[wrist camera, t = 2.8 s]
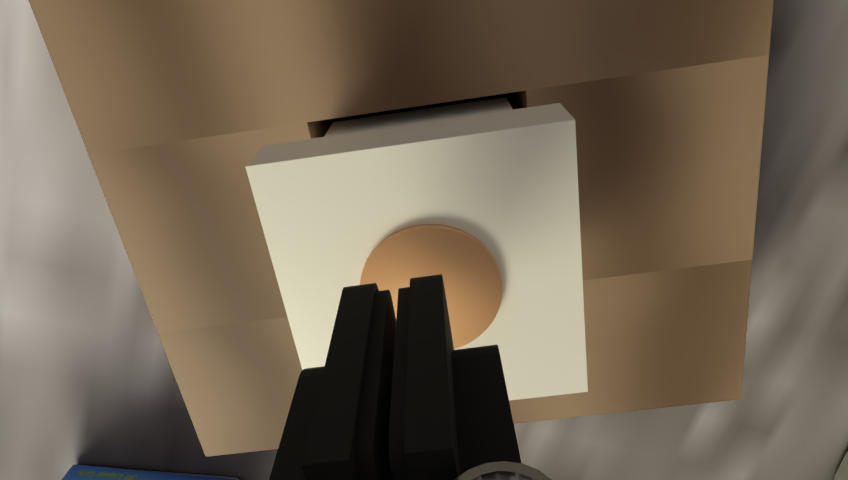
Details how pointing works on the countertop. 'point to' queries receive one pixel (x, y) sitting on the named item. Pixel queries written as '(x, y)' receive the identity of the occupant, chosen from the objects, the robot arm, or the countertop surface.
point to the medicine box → (131, 474)
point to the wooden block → (409, 87)
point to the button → (438, 229)
